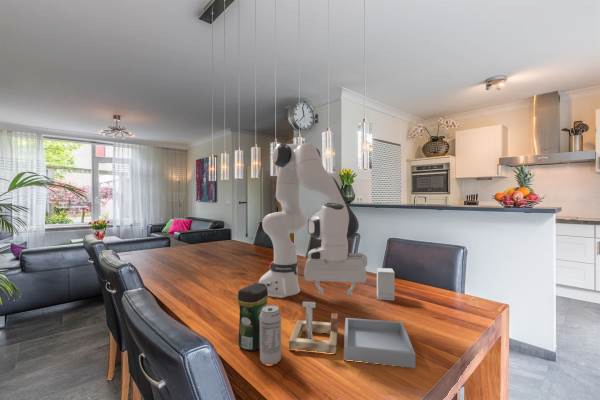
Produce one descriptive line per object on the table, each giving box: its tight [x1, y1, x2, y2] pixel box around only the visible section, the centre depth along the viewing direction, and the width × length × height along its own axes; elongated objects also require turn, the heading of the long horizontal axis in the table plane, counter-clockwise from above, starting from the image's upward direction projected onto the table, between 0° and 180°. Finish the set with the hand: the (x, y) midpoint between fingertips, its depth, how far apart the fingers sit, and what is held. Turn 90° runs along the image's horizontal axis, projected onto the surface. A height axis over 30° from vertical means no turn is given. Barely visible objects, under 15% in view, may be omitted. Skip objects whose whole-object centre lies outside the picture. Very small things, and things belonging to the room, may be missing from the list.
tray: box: [343, 317, 416, 369], centre depth 85 cm, size 19×19×4 cm
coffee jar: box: [237, 281, 269, 351], centre depth 87 cm, size 10×8×19 cm
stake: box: [302, 301, 317, 339], centre depth 86 cm, size 4×2×13 cm, turn 80°
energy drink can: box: [259, 304, 282, 364], centre depth 78 cm, size 6×6×15 cm
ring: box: [288, 312, 339, 354], centre depth 89 cm, size 14×14×7 cm
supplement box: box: [376, 267, 396, 302], centre depth 126 cm, size 7×7×13 cm
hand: (335, 294), depth 91 cm, fingers open, 8 cm apart
